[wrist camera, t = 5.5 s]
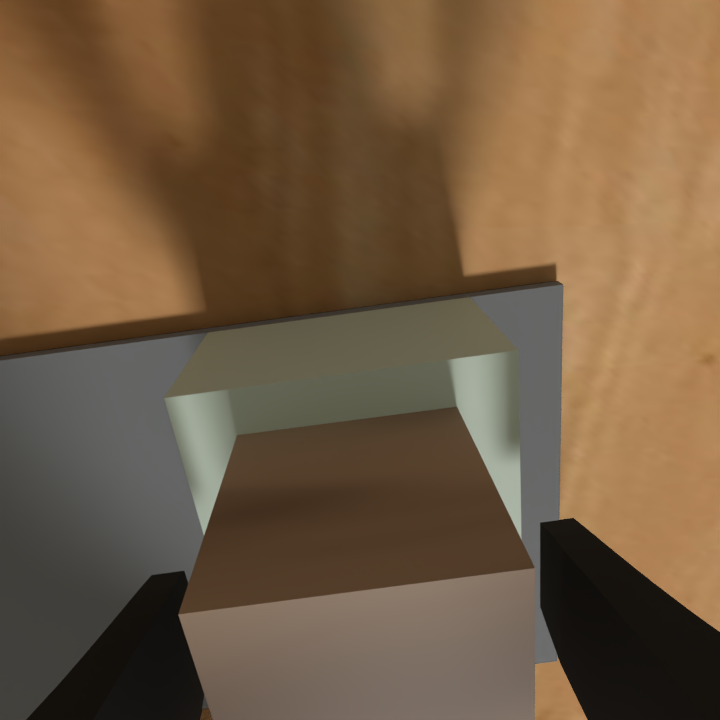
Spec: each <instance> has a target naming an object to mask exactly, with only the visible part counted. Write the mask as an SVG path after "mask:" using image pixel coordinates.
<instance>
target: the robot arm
mask: <svg viewBox="0 0 720 720" xmlns="http://www.w3.org/2000/svg"><path fill="white" fill-rule="evenodd" d="M187 586H188V581H187V577H186V574H185V571H178V572H170V573H163V574H156V575H151V576H150V577H149V579H148V580H147V581H146V582H145V583H144V584H143V585H142V587H141V588H140V589H139V590H138V591H137V593H136V594H135V595H134V596H133V597H132V599H131V600H130V601H129V602H128V603H127V605H126V606H125V607H124V608H123V609H122V611H121V612H120V613H119V614H118V615H117V617H116V618H115V619H114V620H113V621H112V623H111V624H110V625H109V626H108V627H107V628H106V630H105V631H104V632H103V633H102V634H101V636H100V637H99V638H98V639H97V640H96V642H95V643H94V644H93V645H92V646H91V647H90V649H89V650H88V651H87V652H86V653H85V654H84V656H83V657H82V658H81V659H80V660H79V661H78V663H77V664H76V665H75V666H74V667H73V668H72V669H71V671H70V672H69V673H68V674H67V675H66V676H65V678H64V679H63V680H62V681H61V682H60V683H59V684H58V685H57V687H56V688H55V689H54V690H53V691H52V692H51V693H50V694H49V695H48V696H47V697H46V699H45V700H44V701H43V702H42V703H41V704H40V705H39V706H38V707H37V708H36V709H35V710H34V712H33V713H32V714H31V715H30V716H29V717H28V718H27V719H26V720H200V716H201V712H202V706H203V699H204V692H203V688H202V685H201V682H200V679H199V676H198V673H197V670H196V667H195V664H194V661H193V658H192V655H191V652H190V649H189V646H188V643H187V640H186V637H185V634H184V631H183V628H182V624H181V621H180V618H179V615H178V614H179V611H180V608H181V605H182V602H183V598H184V595H185V592H186V589H187ZM540 608H541V611H542V613H543V616H544V619H545V622H546V625H547V628H548V631H549V633H550V636H551V639H552V642H553V644H554V647H555V650H556V652H557V655H558V658H559V660H560V663H561V665H562V667H563V670H564V672H565V674H566V676H567V678H568V680H569V682H570V684H571V686H572V688H573V690H574V692H575V694H576V697H577V699H578V701H579V703H580V705H581V707H582V709H583V711H584V713H585V715H586V717H587V719H588V720H720V632H719V631H717V630H716V629H715V628H713V627H712V626H710V625H709V624H707V623H706V622H705V621H703V620H702V619H701V618H699V617H698V616H696V615H695V614H694V613H692V612H691V611H690V610H688V609H687V608H686V607H684V606H683V605H682V604H680V603H679V602H678V601H676V600H675V599H674V598H673V597H671V596H670V595H669V594H667V593H666V592H665V591H663V590H662V589H661V588H659V587H658V586H657V585H656V584H654V583H653V582H652V581H650V580H649V579H648V578H647V577H645V576H644V575H643V574H641V573H640V572H639V571H638V570H636V569H635V568H634V567H633V566H632V565H630V564H629V563H628V562H627V561H625V560H624V559H623V558H622V557H620V556H619V555H618V554H617V553H615V552H614V551H613V550H612V549H611V548H609V547H608V546H607V545H606V544H604V543H603V542H602V541H601V540H600V539H598V538H597V537H596V536H595V535H594V534H592V533H591V532H590V531H589V530H587V529H586V528H585V527H584V526H582V525H581V524H580V523H579V522H577V521H576V520H575V519H574V518H570V519H563V520H556V521H548V522H541V523H540Z"/></svg>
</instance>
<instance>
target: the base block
mask: <svg viewBox="0 0 720 720" xmlns="http://www.w3.org/2000/svg"><path fill="white" fill-rule="evenodd" d="M164 400H165V404H166V407H167V411H168V414H169V417H170V421H171V424H172V428H173V431H174V435H175V438H176V441H177V445H178V448H179V452H180V455H181V459H182V462H183V465H184V469H185V472H186V476H187V479H188V483H189V486H190V490H191V493H192V496H193V500H194V503H195V507H196V510H197V514H198V517H199V520H200V524H201V527H202V531H203V534H205V531H206V528H207V525H208V522H209V519H210V516H211V513H212V510H213V507H214V504H215V501H216V498H217V495H218V492H219V489H220V486H221V483H222V480H223V477H224V473H225V470H226V467H227V464H228V461H229V458H230V455H231V452H232V449H233V446H234V443H235V440H236V437H237V435H242V434H250V433H258V432H265V431H273V430H281V429H289V428H296V427H304V426H312V425H319V424H327V423H335V422H343V421H350V420H358V419H366V418H373V417H381V416H389V415H397V414H404V413H412V412H420V411H427V410H435V409H443V408H451V407H457V408H458V410H459V412H460V414H461V416H462V418H463V420H464V422H465V424H466V426H467V428H468V430H469V432H470V434H471V436H472V439H473V441H474V443H475V445H476V447H477V449H478V451H479V453H480V455H481V457H482V459H483V461H484V463H485V465H486V467H487V470H488V472H489V474H490V476H491V478H492V480H493V482H494V484H495V486H496V488H497V490H498V492H499V494H500V496H501V498H502V501H503V503H504V505H505V507H506V509H507V511H508V513H509V515H510V517H511V519H512V521H513V523H514V525H515V527H516V529H517V532H518V534H519V536H520V538H521V478H520V418H519V357H518V349H517V348H516V347H515V346H514V345H513V344H512V343H511V342H510V341H509V339H508V338H507V337H506V336H505V335H504V334H503V333H502V332H501V331H500V330H499V329H498V327H497V326H496V325H495V324H494V323H493V322H492V321H491V320H490V319H489V318H488V317H487V316H486V314H485V313H484V312H483V311H482V310H481V309H480V308H479V307H478V306H477V305H476V304H475V303H474V301H473V300H472V299H471V298H470V297H467V298H460V299H452V300H445V301H437V302H430V303H423V304H415V305H408V306H401V307H393V308H386V309H378V310H371V311H364V312H356V313H349V314H342V315H334V316H327V317H319V318H312V319H305V320H297V321H290V322H282V323H275V324H268V325H260V326H253V327H246V328H238V329H231V330H223V331H216V332H209V333H207V334H206V336H205V337H204V339H203V340H202V342H201V343H200V345H199V346H198V348H197V349H196V351H195V352H194V354H193V355H192V357H191V358H190V360H189V361H188V363H187V364H186V366H185V367H184V369H183V370H182V372H181V373H180V375H179V376H178V378H177V379H176V381H175V382H174V384H173V385H172V387H171V388H170V390H169V391H168V393H167V394H166V396H165V397H164ZM521 540H522V539H521Z"/></svg>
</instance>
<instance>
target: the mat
mask: <svg viewBox="0 0 720 720" xmlns="http://www.w3.org/2000/svg"><path fill="white" fill-rule="evenodd" d="M467 297H470V298H471V299H472V300H473V301H474V303H475V304H476V305H477V306H478V307H479V308H480V309H481V310H482V311H483V312H484V313H485V314H486V316H487V317H488V318H489V319H490V320H491V321H492V322H493V323H494V324H495V325H496V326H497V327H498V329H499V330H500V331H501V332H502V333H503V334H504V335H505V336H506V337H507V338H508V339H509V341H510V342H511V343H512V344H513V345H514V346H515V347H516V348H517V349H518V357H519V418H520V478H521V539H522V542H523V544H524V546H525V548H526V550H527V552H528V554H529V556H530V558H531V560H532V563H533V565H534V567H535V664H538V663H546V662H553V661H557V652H556V650H555V647H554V644H553V642H552V639H551V636H550V633H549V631H548V628H547V625H546V622H545V619H544V616H543V613H542V611H541V608H540V523H541V522H548V521H556V520H559V505H560V444H561V383H562V321H563V284H561V283H560V282H558V281H554V282H546V283H539V284H532V285H524V286H517V287H509V288H502V289H495V290H487V291H480V292H472V293H465V294H458V295H450V296H443V297H435V298H428V299H421V300H413V301H406V302H398V303H391V304H384V305H376V306H369V307H361V308H354V309H347V310H339V311H332V312H324V313H317V314H310V315H302V316H295V317H288V318H280V319H273V320H265V321H258V322H251V323H243V324H236V325H228V326H221V327H214V328H206V329H199V330H191V331H184V332H177V333H169V334H162V335H154V336H147V337H140V338H132V339H125V340H117V341H110V342H103V343H95V344H88V345H80V346H73V347H66V348H58V349H51V350H43V351H36V352H29V353H21V354H14V355H7V356H0V720H26V719H27V718H28V717H29V716H30V715H31V714H32V713H33V712H34V710H35V709H36V708H37V707H38V706H39V705H40V704H41V703H42V702H43V701H44V700H45V699H46V697H47V696H48V695H49V694H50V693H51V692H52V691H53V690H54V689H55V688H56V687H57V685H58V684H59V683H60V682H61V681H62V680H63V679H64V678H65V676H66V675H67V674H68V673H69V672H70V671H71V669H72V668H73V667H74V666H75V665H76V664H77V663H78V661H79V660H80V659H81V658H82V657H83V656H84V654H85V653H86V652H87V651H88V650H89V649H90V647H91V646H92V645H93V644H94V643H95V642H96V640H97V639H98V638H99V637H100V636H101V634H102V633H103V632H104V631H105V630H106V628H107V627H108V626H109V625H110V624H111V623H112V621H113V620H114V619H115V618H116V617H117V615H118V614H119V613H120V612H121V611H122V609H123V608H124V607H125V606H126V605H127V603H128V602H129V601H130V600H131V599H132V597H133V596H134V595H135V594H136V593H137V591H138V590H139V589H140V588H141V587H142V585H143V584H144V583H145V582H146V581H147V580H148V579H149V577H150V576H151V575H156V574H163V573H170V572H178V571H185V574H186V577H187V581H188V583H189V580H190V577H191V574H192V571H193V568H194V565H195V562H196V559H197V556H198V553H199V550H200V547H201V544H202V541H203V538H204V534H203V531H202V527H201V524H200V520H199V517H198V514H197V510H196V507H195V503H194V500H193V496H192V493H191V490H190V486H189V483H188V479H187V476H186V472H185V469H184V465H183V462H182V459H181V455H180V452H179V448H178V445H177V441H176V438H175V435H174V431H173V428H172V424H171V421H170V417H169V414H168V411H167V407H166V404H165V400H164V397H165V396H166V394H167V393H168V391H169V390H170V388H171V387H172V385H173V384H174V382H175V381H176V379H177V378H178V376H179V375H180V373H181V372H182V370H183V369H184V367H185V366H186V364H187V363H188V361H189V360H190V358H191V357H192V355H193V354H194V352H195V351H196V349H197V348H198V346H199V345H200V343H201V342H202V340H203V339H204V337H205V336H206V334H207V333H209V332H216V331H223V330H231V329H238V328H246V327H253V326H260V325H268V324H275V323H282V322H290V321H297V320H305V319H312V318H319V317H327V316H334V315H342V314H349V313H356V312H364V311H371V310H378V309H386V308H393V307H401V306H408V305H415V304H423V303H430V302H437V301H445V300H452V299H460V298H467ZM205 708H209V707H208V704H207V701H206V698H205V695H204V699H203V706H202V709H205Z"/></svg>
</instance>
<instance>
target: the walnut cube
mask: <svg viewBox="0 0 720 720" xmlns="http://www.w3.org/2000/svg"><path fill="white" fill-rule="evenodd" d="M178 615H179V618H180V621H181V624H182V628H183V631H184V634H185V637H186V640H187V643H188V646H189V649H190V652H191V655H192V658H193V661H194V664H195V667H196V670H197V673H198V676H199V679H200V682H201V685H202V688H203V692H204V695H205V698H206V701H207V704H208V707H209V710H210V713H211V716H212V719H213V720H535V567H534V565H533V563H532V560H531V558H530V556H529V554H528V552H527V550H526V548H525V546H524V544H523V542H522V540H521V538H520V536H519V534H518V532H517V529H516V527H515V525H514V523H513V521H512V519H511V517H510V515H509V513H508V511H507V509H506V507H505V505H504V503H503V501H502V498H501V496H500V494H499V492H498V490H497V488H496V486H495V484H494V482H493V480H492V478H491V476H490V474H489V472H488V470H487V467H486V465H485V463H484V461H483V459H482V457H481V455H480V453H479V451H478V449H477V447H476V445H475V443H474V441H473V439H472V436H471V434H470V432H469V430H468V428H467V426H466V424H465V422H464V420H463V418H462V416H461V414H460V412H459V410H458V408H457V407H451V408H443V409H435V410H427V411H420V412H412V413H404V414H397V415H389V416H381V417H373V418H366V419H358V420H350V421H343V422H335V423H327V424H319V425H312V426H304V427H296V428H289V429H281V430H273V431H265V432H258V433H250V434H242V435H237V437H236V440H235V443H234V446H233V449H232V452H231V455H230V458H229V461H228V464H227V467H226V470H225V473H224V477H223V480H222V483H221V486H220V489H219V492H218V495H217V498H216V501H215V504H214V507H213V510H212V513H211V516H210V519H209V522H208V525H207V528H206V531H205V534H204V538H203V541H202V544H201V547H200V550H199V553H198V556H197V559H196V562H195V565H194V568H193V571H192V574H191V577H190V580H189V583H188V586H187V589H186V592H185V595H184V598H183V602H182V605H181V608H180V611H179V614H178Z"/></svg>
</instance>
